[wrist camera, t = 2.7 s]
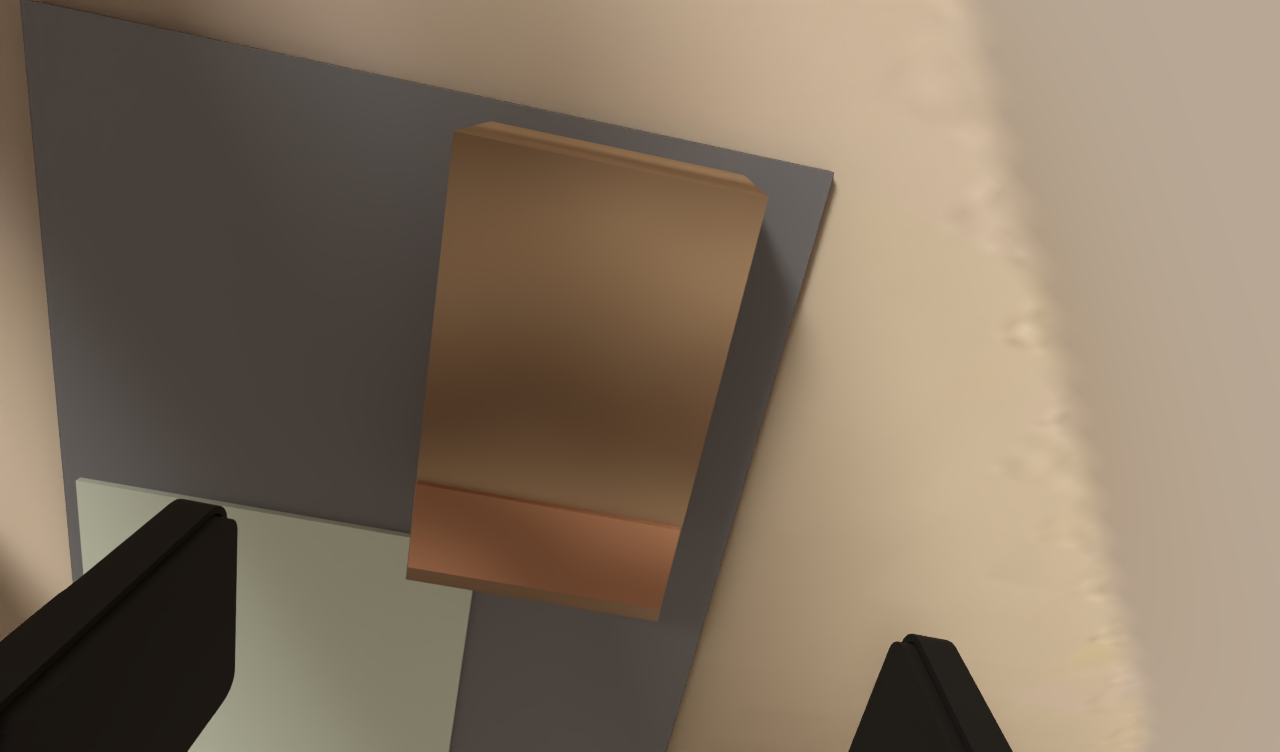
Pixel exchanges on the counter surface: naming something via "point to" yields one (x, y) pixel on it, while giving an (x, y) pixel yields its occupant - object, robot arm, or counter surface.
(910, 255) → the counter surface
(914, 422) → the counter surface
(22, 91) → the counter surface
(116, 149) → the mat
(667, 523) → the brown rectangular block
